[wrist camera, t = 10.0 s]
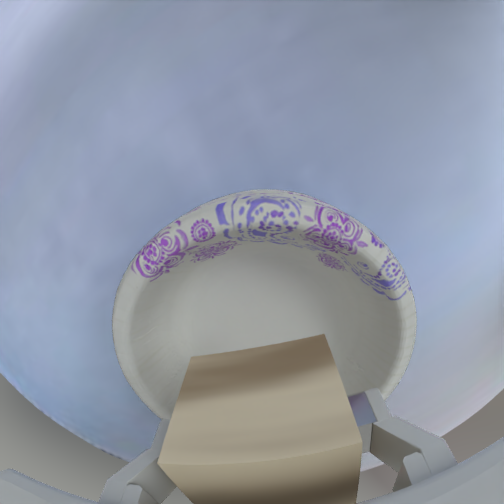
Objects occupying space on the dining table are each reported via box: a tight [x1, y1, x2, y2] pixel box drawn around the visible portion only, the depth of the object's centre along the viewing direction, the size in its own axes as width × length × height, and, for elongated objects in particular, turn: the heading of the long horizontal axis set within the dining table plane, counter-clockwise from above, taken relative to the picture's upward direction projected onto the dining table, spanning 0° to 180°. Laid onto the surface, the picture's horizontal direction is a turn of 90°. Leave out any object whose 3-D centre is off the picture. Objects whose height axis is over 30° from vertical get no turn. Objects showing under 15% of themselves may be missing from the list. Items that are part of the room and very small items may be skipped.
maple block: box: [157, 334, 363, 504], centre depth 8 cm, size 5×5×5 cm
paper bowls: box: [112, 189, 417, 419], centre depth 16 cm, size 15×15×8 cm
